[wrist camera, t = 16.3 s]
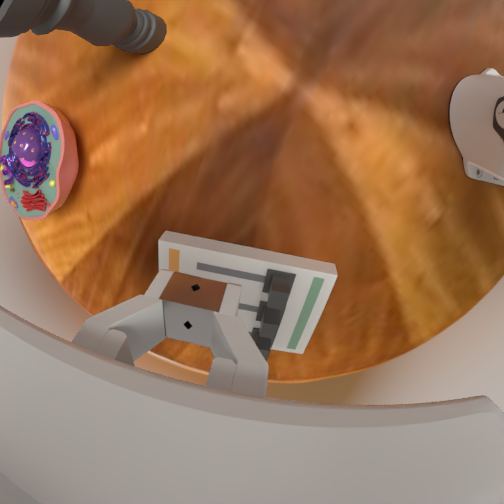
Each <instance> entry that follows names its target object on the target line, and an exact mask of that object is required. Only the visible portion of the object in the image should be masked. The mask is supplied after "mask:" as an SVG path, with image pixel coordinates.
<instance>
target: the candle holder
mask: <svg viewBox="0 0 504 504" xmlns="http://www.w3.org/2000/svg"><path fill="white" fill-rule="evenodd" d="M30 29H31V30H32V32H33V33H35V34H36V35H43V34H48V33H50V32H52V31H53V30H55V29H58V30H66V31H71V32H73V33H74V34H76V35H78V36H80V37H81V38H83V39H85V40H87V41H88V42H90V43H91V44H93V45H95V46H109V45H111V44H113V45H114V46H116V47H118V48H120V49H121V50H123V51H126V52H131V53H136V54H145V53H149V52H151V51H153V50H154V49H156V48H157V47H158V46H159V45H160V44H161V43H162V41H163V40H164V38H165V35H166V32H167V31H166V24H165V22H164V20H163V19H162V18H160V17H158V16H156V15H155V14H153V13H151V12H149V11H147V10H141V9H134V7H133V6H132V4H131V2H129V1H127V0H0V37H14V36H18V35H19V34H21V33H25V32H27V31H29V30H30Z"/></svg>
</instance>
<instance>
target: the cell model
mask: <svg viewBox="0 0 504 504" xmlns="http://www.w3.org/2000/svg"><path fill="white" fill-rule="evenodd" d="M78 170H79V160H78V152H77V142H76V134H75V132H74V130H73V129H72V127H71V126H70V124H69V122H68V120H67V118H66V117H65V116H64V115H63V114H61V113H60V112H59V110H58V109H56V108H55V107H53V106H51V105H49V104H46V103H43V102H40V101H37V100H33V101H30V102H27V103H24V104H19V105H17V106H16V107H15V108H14V109H13V110H12V111H11V113H10V115H9V117H8V119H7V121H6V124H5V126H4V128H3V130H2V133H1V137H0V178H1V184H2V189H3V193H4V196H5V197H6V200H7V201H8V203H9V204H10V206H11V207H12V209H13V210H14V211H15V213H16V214H17V215H18V216H19V217H20V218H22V219H25V220H41V219H44V218H45V217H46V216H47V215H49V214H50V213H51V212H53V211H54V210H56V209H58V208H60V207H61V206H62V205H63V204H64V202H65V201H66V199H67V197H68V195H69V193H70V191H71V188H72V186H73V184H74V182H75V179H76V177H77V174H78Z"/></svg>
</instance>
